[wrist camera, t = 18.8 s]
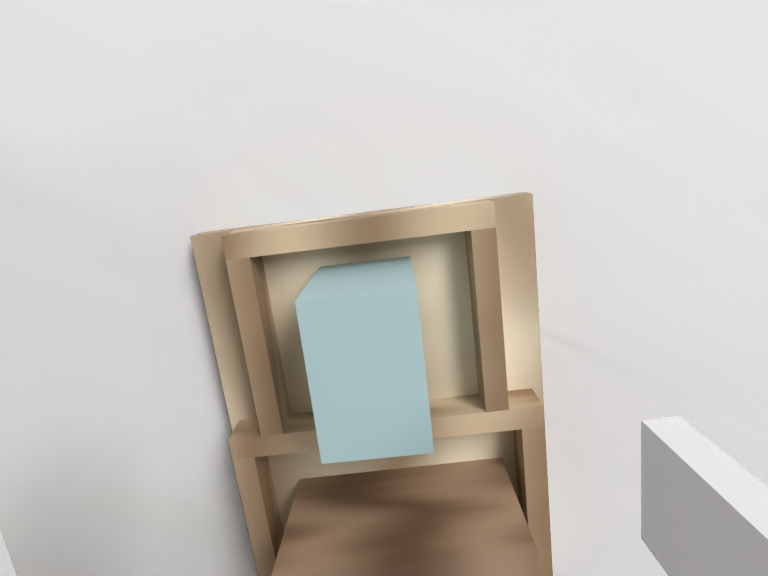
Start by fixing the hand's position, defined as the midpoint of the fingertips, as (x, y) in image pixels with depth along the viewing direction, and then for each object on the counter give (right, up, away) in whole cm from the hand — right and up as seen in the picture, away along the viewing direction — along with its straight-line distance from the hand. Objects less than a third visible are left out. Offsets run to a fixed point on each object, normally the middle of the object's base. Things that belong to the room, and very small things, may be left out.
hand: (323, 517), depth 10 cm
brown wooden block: (+2, -6, +15) cm, 16 cm away
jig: (+1, -1, +15) cm, 15 cm away
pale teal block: (+1, +3, +12) cm, 13 cm away
